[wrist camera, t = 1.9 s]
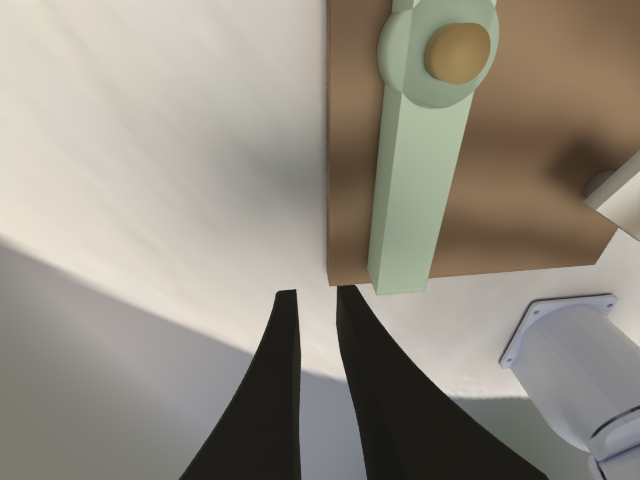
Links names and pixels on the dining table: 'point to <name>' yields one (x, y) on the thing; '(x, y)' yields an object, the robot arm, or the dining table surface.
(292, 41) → the dining table surface
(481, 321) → the dining table surface
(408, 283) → the link
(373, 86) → the board
